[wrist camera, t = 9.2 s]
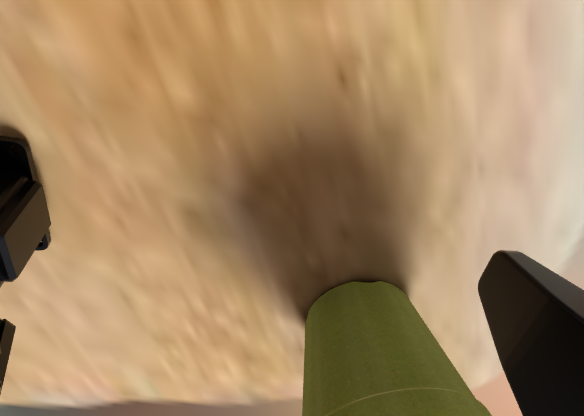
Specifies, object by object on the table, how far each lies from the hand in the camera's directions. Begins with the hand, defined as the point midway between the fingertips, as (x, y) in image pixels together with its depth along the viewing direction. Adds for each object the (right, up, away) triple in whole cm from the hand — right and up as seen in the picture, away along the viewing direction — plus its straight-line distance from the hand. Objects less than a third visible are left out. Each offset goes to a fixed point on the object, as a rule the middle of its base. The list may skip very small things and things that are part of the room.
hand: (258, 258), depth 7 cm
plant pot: (+5, -6, +21) cm, 23 cm away
